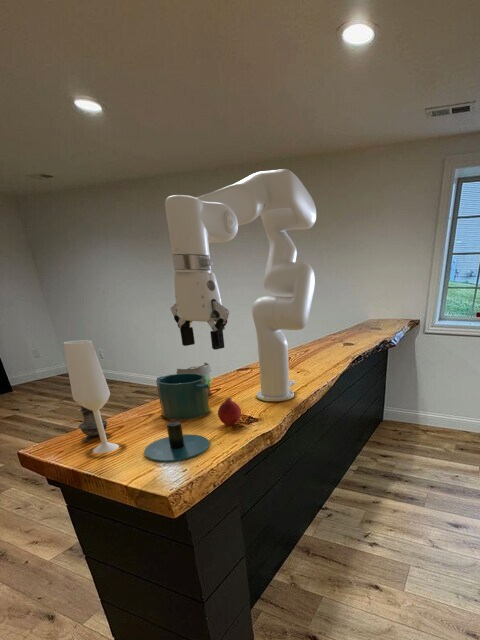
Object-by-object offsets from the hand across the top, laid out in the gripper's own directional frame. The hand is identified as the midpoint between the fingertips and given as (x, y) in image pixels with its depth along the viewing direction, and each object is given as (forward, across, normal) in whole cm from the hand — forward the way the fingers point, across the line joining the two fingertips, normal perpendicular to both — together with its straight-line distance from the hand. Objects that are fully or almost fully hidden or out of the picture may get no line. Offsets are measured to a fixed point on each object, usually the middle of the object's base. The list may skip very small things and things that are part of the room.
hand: (203, 346), depth 81 cm
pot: (+21, +16, -5) cm, 27 cm away
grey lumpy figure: (+21, +21, +18) cm, 35 cm away
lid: (+21, -2, +13) cm, 24 cm away
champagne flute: (+21, +12, +21) cm, 32 cm away
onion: (+22, -2, -4) cm, 22 cm away
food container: (+22, +27, -20) cm, 40 cm away
